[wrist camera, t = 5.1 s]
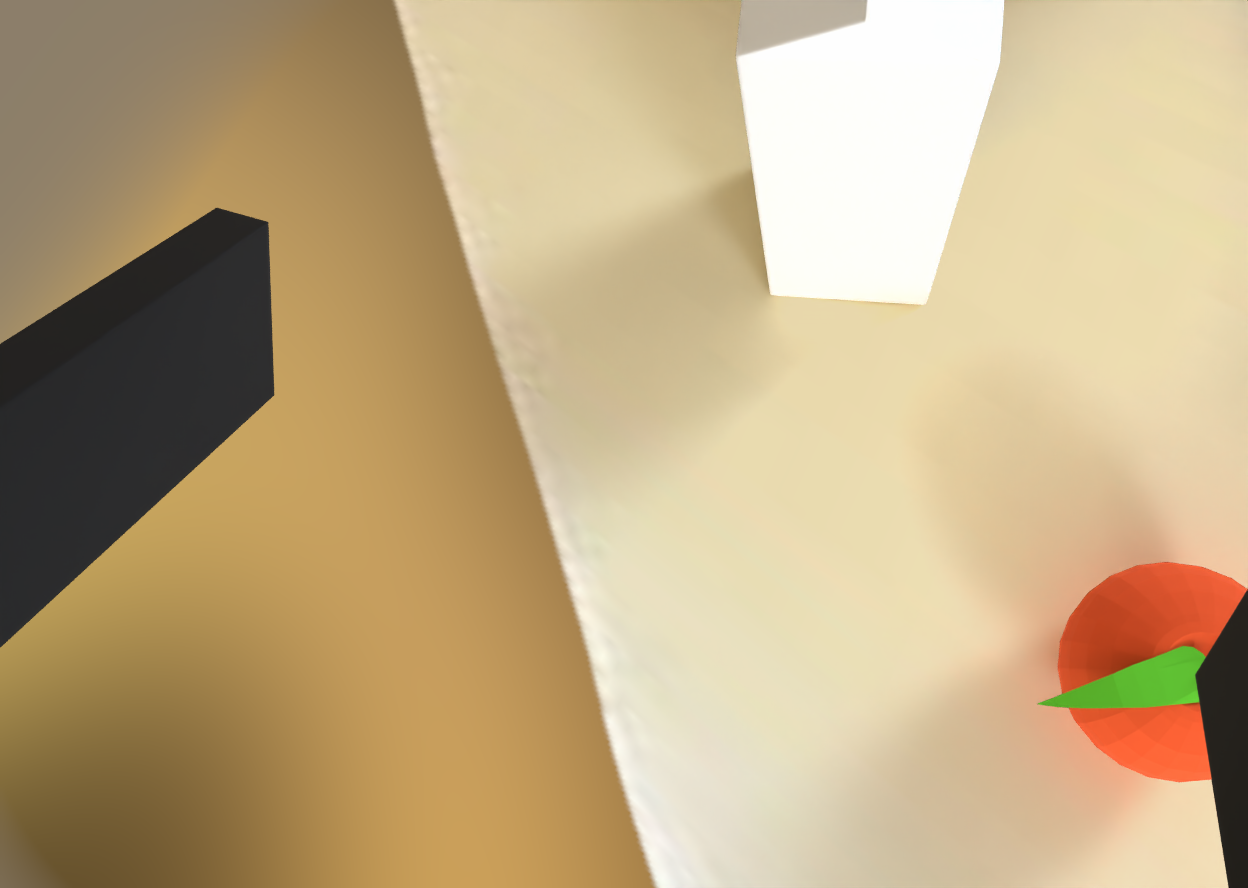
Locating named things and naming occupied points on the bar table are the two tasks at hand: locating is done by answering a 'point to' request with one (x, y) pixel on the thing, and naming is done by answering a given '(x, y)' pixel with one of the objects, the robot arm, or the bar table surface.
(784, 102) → the milk
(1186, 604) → the clementine
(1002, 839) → the bar table surface
